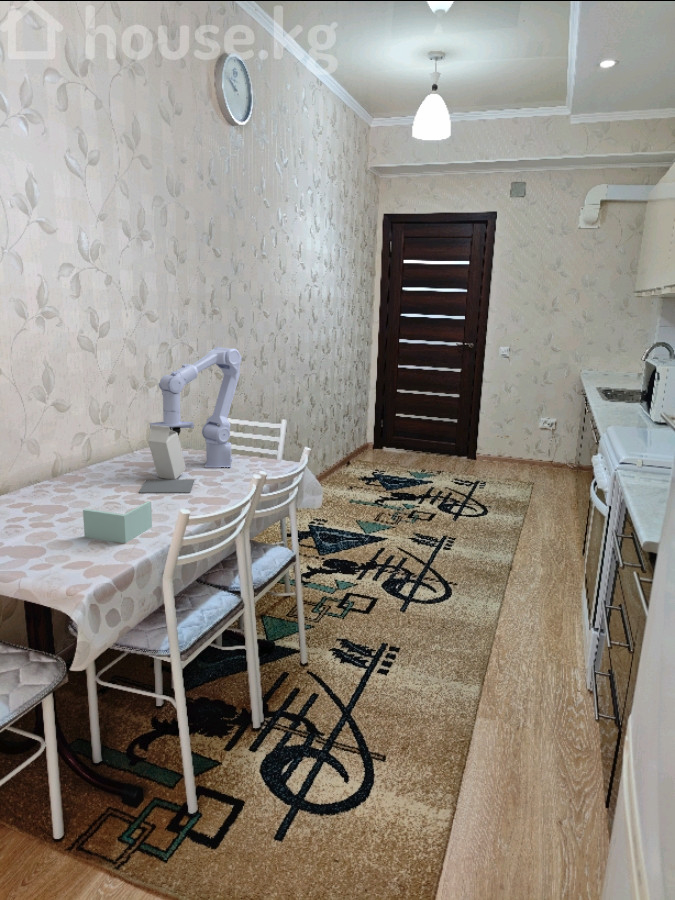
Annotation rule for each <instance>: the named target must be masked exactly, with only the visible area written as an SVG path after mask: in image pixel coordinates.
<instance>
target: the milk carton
mask: <svg viewBox="0 0 675 900" xmlns="http://www.w3.org/2000/svg"><path fill="white" fill-rule="evenodd" d="M151 427H152V428H151V429H150V432H149V435H148V439H147V442H148V445H149V450H150V452H151V453H150V454H151V456H152V457H151V458H152V461H153V464H154V467H155V471H156V475H157V478H158V479H178V478H179V476H181V475H182V474H183V473H184V471H185V470H186V469H187V467H186V463H185V459H184V455H183V450H182V445H181V442H180V438H179V436H178V433H177V432H175V431H172V430H170V427H167V426H158V425H151Z"/></svg>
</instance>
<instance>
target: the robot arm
mask: <svg viewBox="0 0 675 900" xmlns="http://www.w3.org/2000/svg"><path fill="white" fill-rule="evenodd" d="M242 359H243V357H242V355H241V353H240V352H239V350H238V349H237V348H229V347H221V346H216V347H214V348H213V349H210V350H209V352H208V353H207V354H206V355H205V354H204V356H202V357H201V358H200V359H198V360H197V361H195V362H194V363H193V364H190V363H183V364H182V365H181V366H180V367H179V368H178V369H176V370H173V371H171V373H170V374H165V375H163V376H162V377H161V379H160V381H159V383H158V388H159V389H160V390H161V395H162V416H163V420H162V421H158V422H149V429H150V430H151V428H152V427H151V425H158V426H167V427H170V430H172V431H175V432H177V433H178V437H179V435H180V433H181V431H182V430H181V429H194V428H195V422H194V421H181V418H182V417H181V392H183V390H184V387H185V386H186V385H188V384H189V383H192V382H193V381H195V379H197V378H198V373H200V372H202V371H204V370H206V369H207V368H209V367H211V366H213V365H216V366H217V368H219V369H220V370H221V371H222V374H223V377H222V380H221V384H220V386H219V387H220V388H219V391H218V395H217V399H216V403H215V404H214V409H213V413H212V415H211V416H209V417H207V419H206V422H205V424H204V425H203V427H202V430H201V435H202V437H203V438H204V439H205V440H204V441H205V445H206V446H205V452H206V454H205V455H206V458H205V459H206V461H205V465H204V468H213V469H214V468H217V469H218V468H221V467H224V468H225V467H227V469H229V468H228V467H230V468H231V466H232V462H233V457H232V442H229V441H228V440H229V439H230V436H231V431H230V430H231V426H232V425H231V423H230V421H229V420H228V417H229V414H230V411H231V407H232V402H233V399H234V396H235V394H236V393H235V392H236V389H237V385H238V382H239V378H240V376H241V369H240V368H241V367H240V366H241V363H242ZM224 468H223V469H224ZM221 469H222V468H221Z"/></svg>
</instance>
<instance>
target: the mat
mask: <svg viewBox="0 0 675 900" xmlns="http://www.w3.org/2000/svg"><path fill="white" fill-rule="evenodd" d="M194 480H195V479H186V478H184V479H178V478H177V479H166V478H157V479H155V478H154V479H153V478H152V479H148V478H147V479H145V481H144V483H143V484H142V486H141V487H140V489H139V491H138V492H137V493H138V494H191V491H192V489H193V486H194V484H193V483H195V481H194Z"/></svg>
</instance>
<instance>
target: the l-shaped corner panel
mask: <svg viewBox="0 0 675 900" xmlns="http://www.w3.org/2000/svg"><path fill="white" fill-rule="evenodd" d="M82 516H83V517H82V518H83V531H84V537H85V538H90V539H93V540H94V539H95V540H96V539H97V540H102V541H109V542H114V543H122V544H127V543H129V542H130V541H132V540H134V539H135V538H137V537H139V536H140V535H141V534H144V533H146V532H147V531H148V530H150V529H152V528H153V517H152V501H146V502H145V503H142V504H140V505H139V506H136V507H134V508H133V509H131V510H129V511H127V512H125V513H117V512H109V511H104V510H103V511H102V510H97V509H96V510H95V509H89V508H84V509H82Z"/></svg>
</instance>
